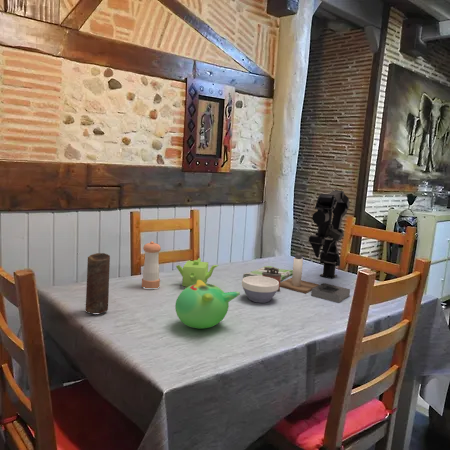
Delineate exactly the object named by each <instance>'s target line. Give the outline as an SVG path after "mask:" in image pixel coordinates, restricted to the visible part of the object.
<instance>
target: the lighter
mask: <svg viewBox="0 0 450 450" xmlns="http://www.w3.org/2000/svg"><path fill="white" fill-rule="evenodd" d="M263 267H264V266H263ZM274 267H275V266H272V268H270V267H264V270H267V272H262V276H264V277H269V278H273V279H275V280H277V281H278V282H279V288H278V290H277V292H276V293H279V292H281V287H280V282H281V281H280V279H281V273H278V272H279V269H280V268H277V267H275V268H274ZM269 271H270V272H269ZM275 271H276V272H275Z"/></svg>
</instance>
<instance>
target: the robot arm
mask: <svg viewBox="0 0 450 450" xmlns="http://www.w3.org/2000/svg"><path fill="white" fill-rule="evenodd" d="M350 205H351V204H350V198H349V197H348V196H347V195H346V194H345V192H344V191H343V190H339V189H334V190H332V191H331V192H329V193H320V194H319V195H318V197H317V199H316V204H315V206H314V209H315V210H316V211H315V212H314V213H313V214H312V217H311V218H312V221H313V223H314V224H316V227H317V232H315V233H314V234H312V235H310V236H309V237H308V240H307V241H308V242H309V244H310V246H311V248H312V251H313V253H314V255H315V258H316V259H319V264H322V265H323V266H322V267H323V268H322V274H320V275H319V276H320V277H324V278H328V279H331V280H333V279H335V278H338V275H337V274H336V267H340V265H341V257H340V254H339V253H340V252H339V248H338V242H339V241H342V238H343V237H344V234H345V233H344V229H342V228H341V226H342V221H343V218H344V217H345V216H346V215H347V213H348V210H349V209H350V207H351V206H350Z"/></svg>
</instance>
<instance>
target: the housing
mask: <svg viewBox="0 0 450 450" xmlns="http://www.w3.org/2000/svg"><path fill="white" fill-rule="evenodd" d="M310 292H311V294H310V295H311V297H314V298H319V299H323V300H326V301H330V302H335V303H337V304H338V303H341V302H342V301H344V300H346V299H347V298H349V297H350V293H351V288H347V287H343V286H342V287H341V286H338V285H333V284H329V283H325V282H323V283H321V284H320V283H319V285H318V286H316V287H314V288H312V291H310Z"/></svg>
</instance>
